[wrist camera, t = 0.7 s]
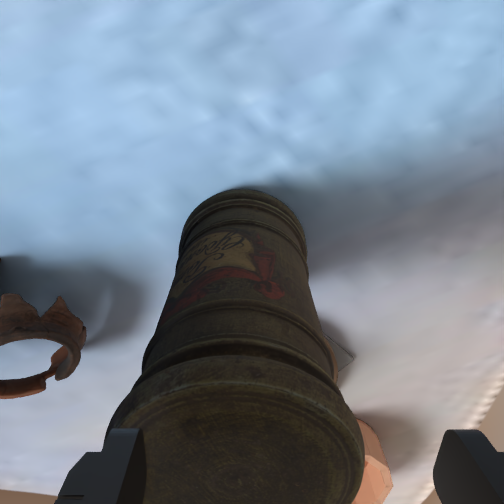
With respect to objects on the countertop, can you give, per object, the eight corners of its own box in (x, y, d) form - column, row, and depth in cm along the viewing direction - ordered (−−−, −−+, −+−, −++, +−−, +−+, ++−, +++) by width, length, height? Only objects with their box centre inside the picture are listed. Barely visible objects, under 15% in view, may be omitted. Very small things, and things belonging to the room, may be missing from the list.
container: (326, 236, 27) (443, 467, 11) (250, 314, 30) (254, 586, 14) (232, 159, 25) (205, 311, 9) (159, 251, 28) (34, 496, 11)
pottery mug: (19, 224, 27) (21, 302, 22) (102, 285, 34) (120, 355, 29) (-119, 315, 27) (-150, 417, 22) (-5, 358, 34) (-8, 443, 29)
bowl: (333, 399, 34) (343, 436, 31) (397, 446, 37) (413, 485, 34) (262, 451, 37) (263, 490, 34) (326, 490, 40) (334, 531, 37)
